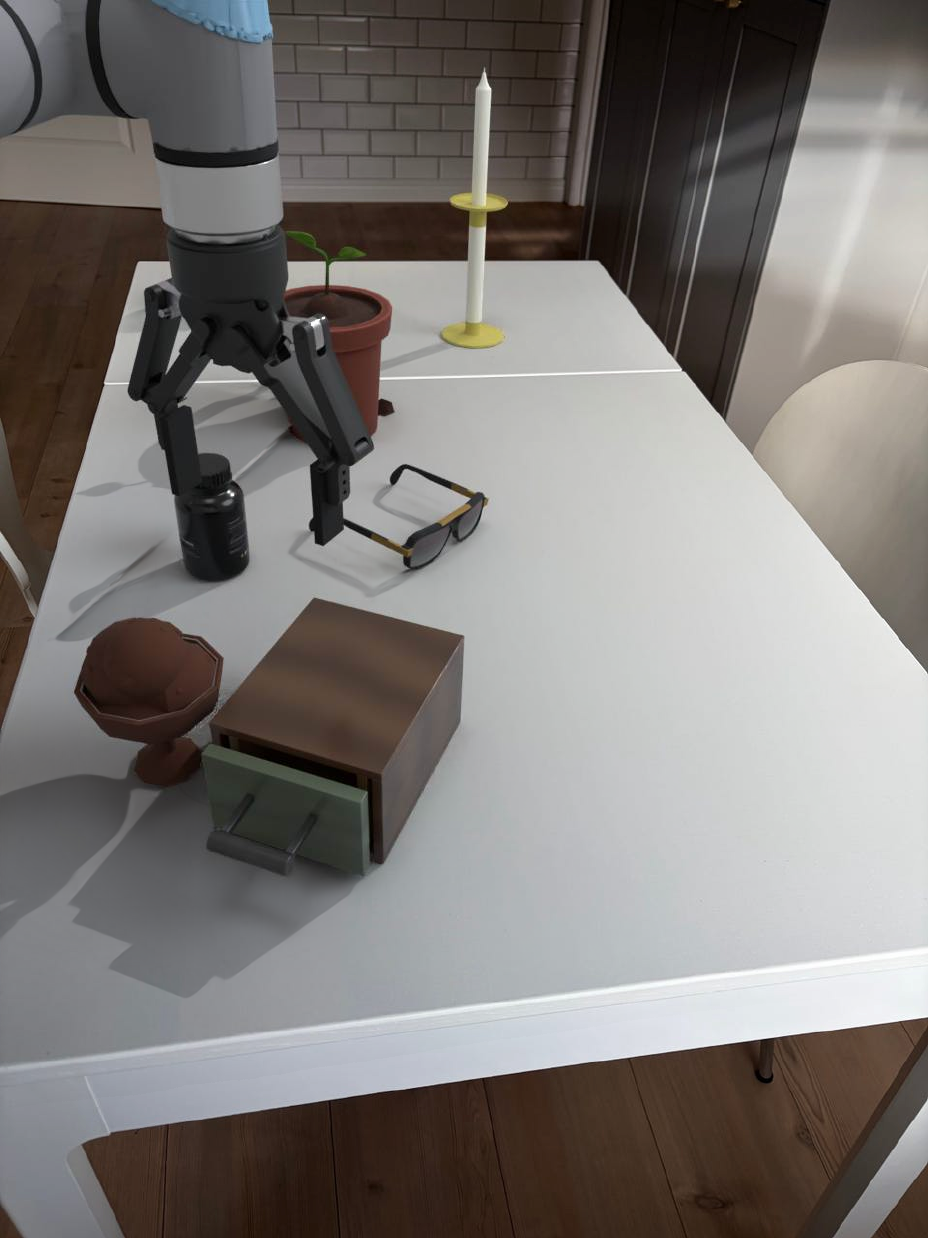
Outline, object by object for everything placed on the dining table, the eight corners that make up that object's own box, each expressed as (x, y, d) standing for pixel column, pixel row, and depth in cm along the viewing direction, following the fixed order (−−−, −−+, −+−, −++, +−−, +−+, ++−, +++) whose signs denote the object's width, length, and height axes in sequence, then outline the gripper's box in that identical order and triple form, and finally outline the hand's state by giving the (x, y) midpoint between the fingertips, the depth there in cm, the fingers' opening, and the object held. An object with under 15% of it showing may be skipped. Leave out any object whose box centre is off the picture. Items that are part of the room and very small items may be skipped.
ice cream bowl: (263, 746, 83) (245, 602, 74) (168, 834, 75) (135, 685, 66) (169, 700, 87) (141, 558, 78) (69, 778, 79) (25, 631, 70)
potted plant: (254, 456, 123) (233, 250, 107) (266, 382, 140) (249, 196, 125) (397, 454, 124) (396, 251, 109) (392, 382, 141) (390, 198, 126)
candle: (443, 322, 160) (449, 59, 138) (504, 325, 160) (521, 63, 138) (439, 346, 152) (445, 71, 130) (504, 349, 152) (521, 75, 130)
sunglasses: (391, 483, 118) (390, 445, 115) (494, 527, 111) (496, 489, 108) (308, 531, 109) (306, 491, 106) (415, 582, 102) (415, 542, 99)
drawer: (331, 933, 68) (326, 860, 63) (175, 879, 71) (158, 804, 66) (440, 737, 83) (443, 666, 78) (308, 699, 86) (302, 629, 82)
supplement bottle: (172, 577, 102) (154, 474, 94) (202, 542, 107) (187, 442, 100) (235, 588, 100) (221, 485, 93) (261, 552, 106) (251, 452, 98)
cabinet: (383, 864, 74) (381, 774, 68) (223, 812, 77) (208, 722, 71) (460, 721, 86) (464, 635, 80) (319, 682, 90) (313, 596, 84)
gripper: (423, 245, 61) (420, 534, 74) (120, 183, 70) (164, 451, 83) (357, 278, 56) (366, 584, 69) (37, 207, 65) (99, 489, 78)
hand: (256, 512), depth 76 cm, fingers open, 13 cm apart
